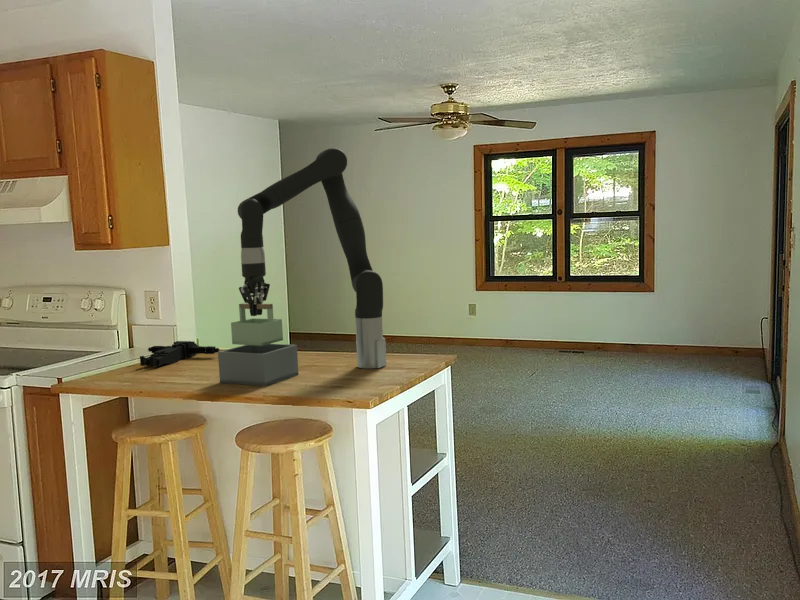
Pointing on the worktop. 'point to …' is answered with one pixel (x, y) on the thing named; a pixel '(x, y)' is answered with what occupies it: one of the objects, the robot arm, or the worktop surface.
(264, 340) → the green basket
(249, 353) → the charcoal crate
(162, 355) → the toy
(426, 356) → the worktop surface
